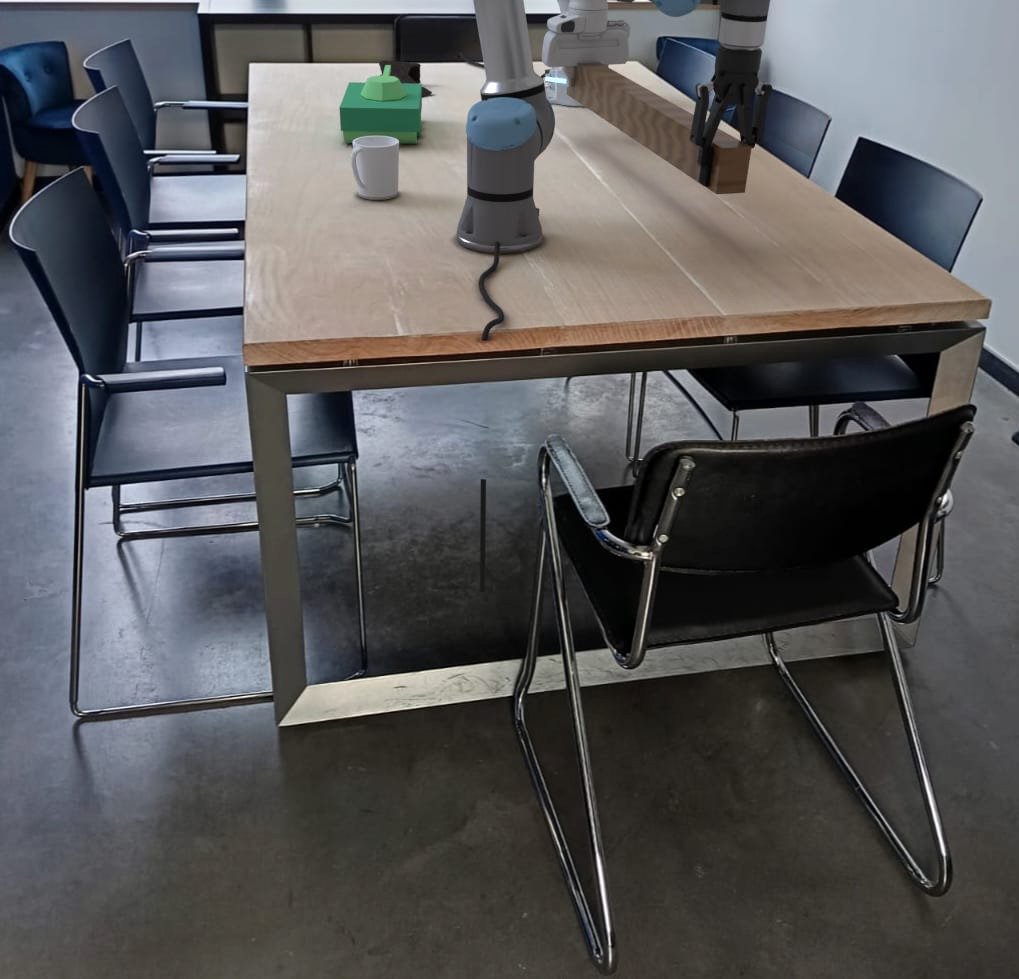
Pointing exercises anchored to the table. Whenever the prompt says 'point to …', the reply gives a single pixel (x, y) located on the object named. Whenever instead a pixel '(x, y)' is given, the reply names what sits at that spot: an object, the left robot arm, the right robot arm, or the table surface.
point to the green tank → (382, 109)
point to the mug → (376, 166)
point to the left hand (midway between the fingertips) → (720, 183)
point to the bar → (659, 125)
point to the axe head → (405, 72)
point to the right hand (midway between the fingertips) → (584, 85)
